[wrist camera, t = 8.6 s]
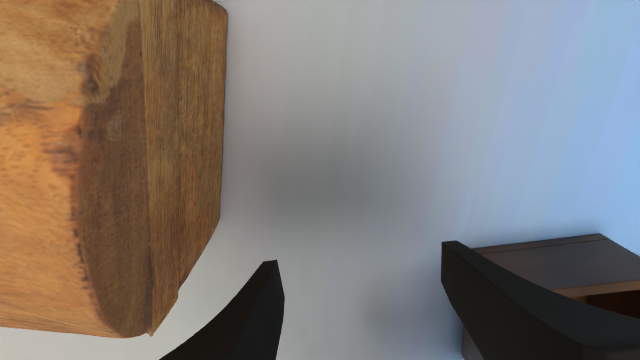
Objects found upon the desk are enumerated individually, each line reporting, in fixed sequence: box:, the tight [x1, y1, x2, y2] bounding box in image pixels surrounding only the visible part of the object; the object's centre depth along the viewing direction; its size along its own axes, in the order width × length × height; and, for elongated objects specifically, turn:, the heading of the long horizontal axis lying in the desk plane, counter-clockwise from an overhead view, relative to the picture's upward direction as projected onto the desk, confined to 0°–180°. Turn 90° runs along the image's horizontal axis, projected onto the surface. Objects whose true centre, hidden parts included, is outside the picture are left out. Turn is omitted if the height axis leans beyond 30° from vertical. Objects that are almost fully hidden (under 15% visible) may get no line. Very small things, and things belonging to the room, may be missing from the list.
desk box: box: [462, 234, 640, 360], centre depth 24 cm, size 11×12×5 cm
